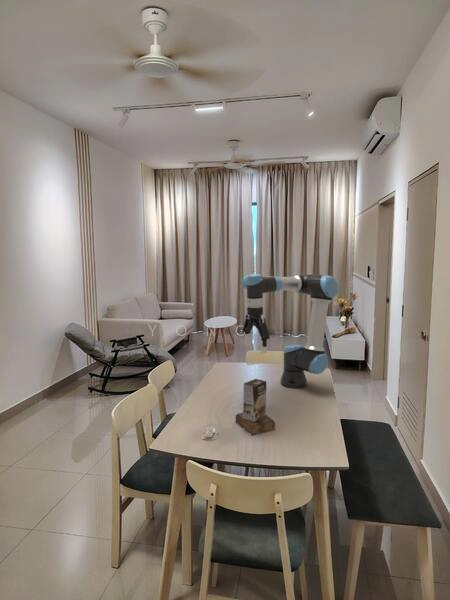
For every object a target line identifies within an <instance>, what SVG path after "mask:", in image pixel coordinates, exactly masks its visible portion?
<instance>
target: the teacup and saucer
mask: <svg viewBox="0 0 450 600" xmlns="http://www.w3.org/2000/svg"><path fill="white" fill-rule="evenodd" d="M205 432H206V434H205V435H206V437H207V438H209V437H210V438H212V437H213V436H214V434H213V433H216V429H215V428H214V426H206V427H205Z"/></svg>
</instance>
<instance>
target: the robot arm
mask: <svg viewBox="0 0 450 600" xmlns="http://www.w3.org/2000/svg"><path fill="white" fill-rule="evenodd" d="M241 285H242V288H244V289H245V290H246V303H247V304H246V306H247V307H246V310H247V312H246V315H245V320H244V324H243V327H242V332H243V333H244V337H245V348H248V347H249V348H250V347H252V333H251V331H252V329H253V328H256V329H257V331H258V334H259V337H260V338H261V339H260V354H267V353H268V352H267V345H268V342H267V341H268V340H269V339H270V338H271V337H270V333H269V330H268V326H267V323H266V322H267V321H266V318H262V315H263V314H264V307H263V306H264V294H268V293H276V292H279V291H284V292H285V291H289V292H290V291H291V292H292V293H298V294H303V295H309V296H310V300H311V301H312V304H311V310H310V311H311V312H310V319H309V325H308V333H307V340H306V345H304V344H289V345H286V346H284V348H283V371H282V375H281V378H280V385H282V386H283V387H286V388H289V389H301V388H304V387H306V386H307V385H308V384H307V382H308V381H307V377H306V374H305V372H308V373H310V374H314V375H320V374H322V373H324V371H325V370H326V369H327V367H328V364H329V358H328V355H326V354H325V353H326V350H325V348H324V338H325V332H326V326H327V325H326V324H327V316H328V310H329V309H328V308H329V304H330V303H331V302H332V300H333V298H335V297H336V296H337V294H338V291H339V286H338V281H337V279H336V278H335V277H333V275H332V276H331V275H327V274H326V275H325V274H303V275H302V274H300V275H293V276H271V275H270V276H268V275H262V274H261V273H250V274H248V275H245V276H244V277H243V278H242V280H241Z"/></svg>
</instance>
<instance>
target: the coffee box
mask: <svg viewBox="0 0 450 600" xmlns="http://www.w3.org/2000/svg"><path fill="white" fill-rule="evenodd" d="M242 398H243V403H242V404H243V405H242V408H243V409H242V411H243V412H242V413H243V418H244V419H247V420H250V421H253V422H255V421H257V420H259V419H261V418H262V417H264V416H266V415H267V381H266V380H263V379H257V378H254V379H251V380H249V381H247V382H244V383H243V397H242Z"/></svg>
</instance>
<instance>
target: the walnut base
mask: <svg viewBox="0 0 450 600" xmlns="http://www.w3.org/2000/svg"><path fill="white" fill-rule="evenodd" d="M235 423H236V424H237V425H239V426H240V427H241V428H242V429H243V428H244V429H245V430H244V429H243V430H244V431H245V432H247V433H248V434H249V433H250V434H251V435H250V434H249V435H250V436H252V435H257V434H261V433H264V432H269V431H272V430H275V429H276V424H275V423H276V421H274V419H272V418H271V417H270V416H268V415H267V414H266V416H264V417H262V418H261V419H259V420H257V421H255V422H253V421H250V420H247V419H244V418H243V412H239V413H236V414H235Z"/></svg>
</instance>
